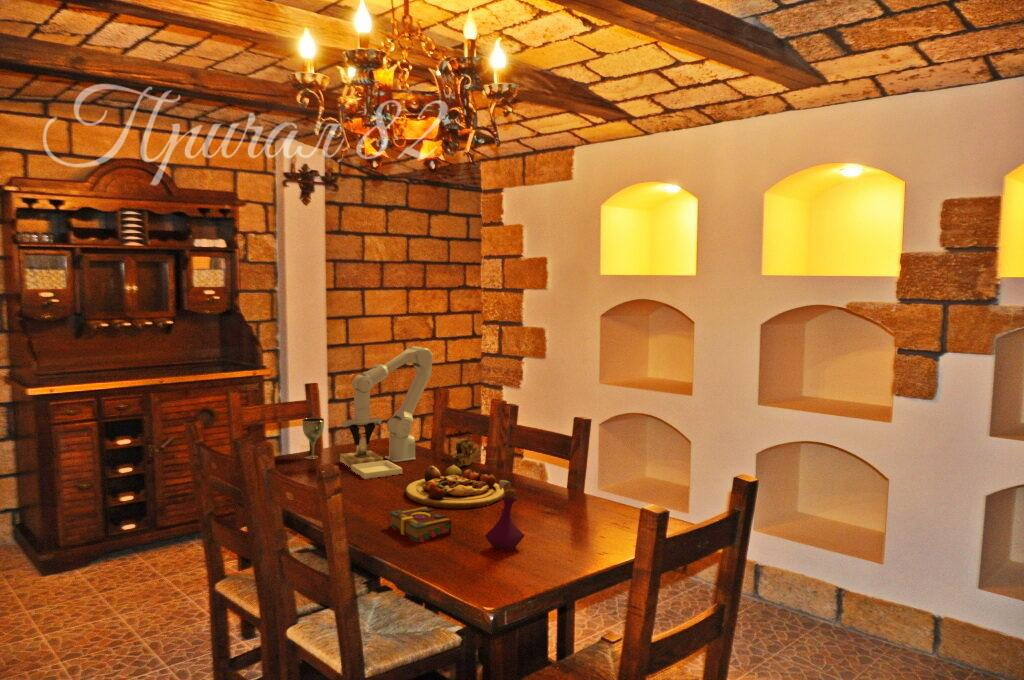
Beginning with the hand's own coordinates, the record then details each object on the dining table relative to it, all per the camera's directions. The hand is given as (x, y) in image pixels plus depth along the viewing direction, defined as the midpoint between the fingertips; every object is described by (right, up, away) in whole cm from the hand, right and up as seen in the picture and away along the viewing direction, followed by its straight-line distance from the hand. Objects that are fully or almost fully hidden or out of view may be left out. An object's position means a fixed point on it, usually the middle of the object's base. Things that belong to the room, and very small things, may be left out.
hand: (361, 444), depth 271 cm
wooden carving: (+38, -9, +2) cm, 39 cm away
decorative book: (+31, -15, -70) cm, 78 cm away
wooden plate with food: (+37, -12, -34) cm, 52 cm away
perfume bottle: (+54, -16, -81) cm, 98 cm away
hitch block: (0, -7, +1) cm, 7 cm away
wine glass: (-20, -7, +7) cm, 22 cm away
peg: (0, -4, 0) cm, 4 cm away
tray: (+8, -9, -11) cm, 16 cm away
